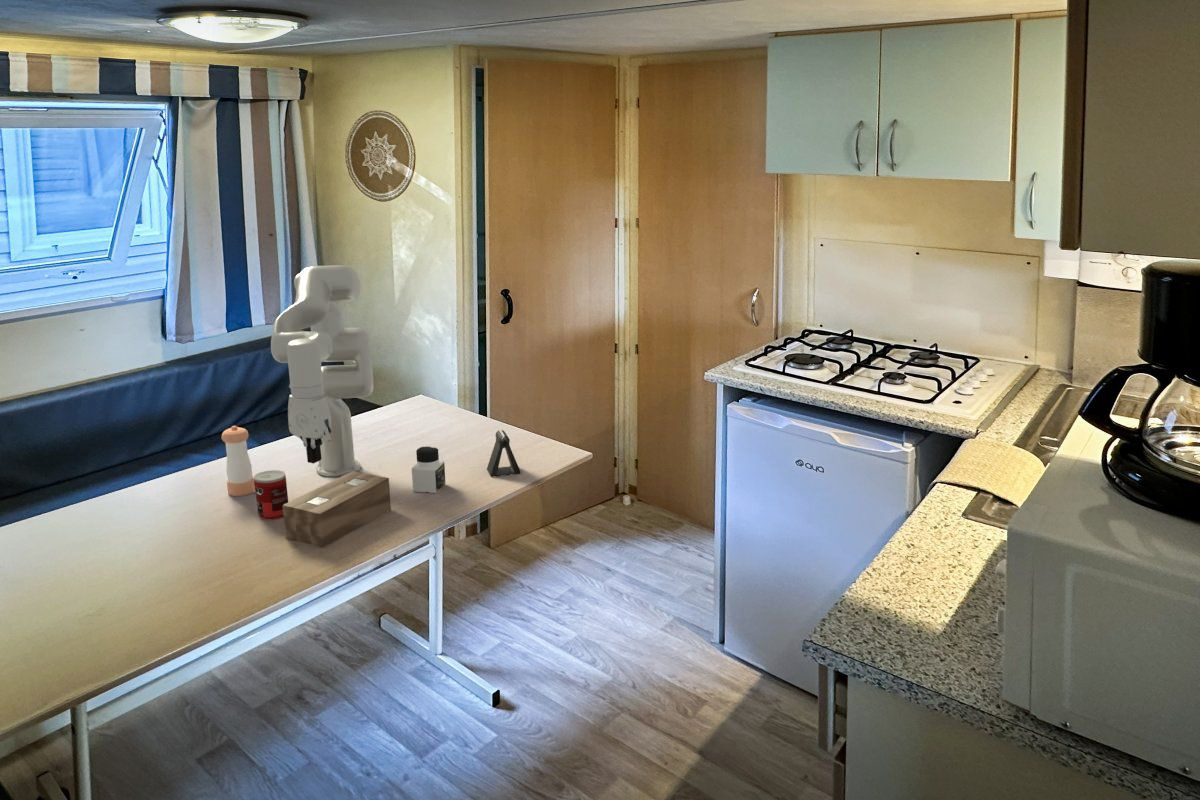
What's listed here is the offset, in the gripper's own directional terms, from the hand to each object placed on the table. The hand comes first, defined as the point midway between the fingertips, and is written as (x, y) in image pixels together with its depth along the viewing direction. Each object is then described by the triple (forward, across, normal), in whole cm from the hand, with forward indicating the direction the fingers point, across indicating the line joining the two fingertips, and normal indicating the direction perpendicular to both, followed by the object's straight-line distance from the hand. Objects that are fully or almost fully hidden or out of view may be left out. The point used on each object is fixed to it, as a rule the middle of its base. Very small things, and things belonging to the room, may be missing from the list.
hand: (314, 461), depth 237 cm
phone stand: (+21, +19, +56) cm, 63 cm away
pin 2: (+19, +1, +13) cm, 23 cm away
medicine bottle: (+20, +7, +36) cm, 42 cm away
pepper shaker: (+20, -39, +11) cm, 46 cm away
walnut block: (+19, +1, +6) cm, 20 cm away
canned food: (+20, -19, +3) cm, 28 cm away
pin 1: (+18, +1, -1) cm, 18 cm away
